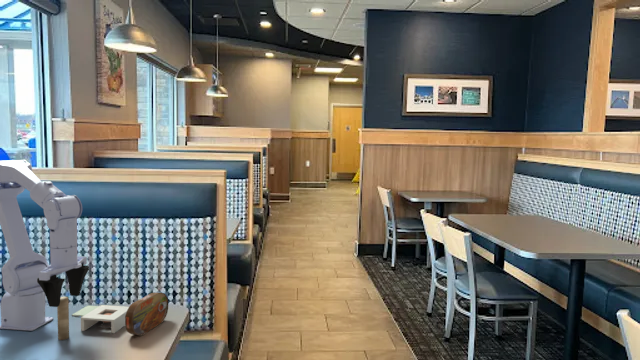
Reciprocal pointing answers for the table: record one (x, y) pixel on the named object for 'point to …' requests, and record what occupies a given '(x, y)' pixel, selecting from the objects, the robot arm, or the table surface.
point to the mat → (85, 311)
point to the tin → (146, 313)
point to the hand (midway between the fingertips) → (64, 300)
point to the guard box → (105, 317)
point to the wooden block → (63, 318)
